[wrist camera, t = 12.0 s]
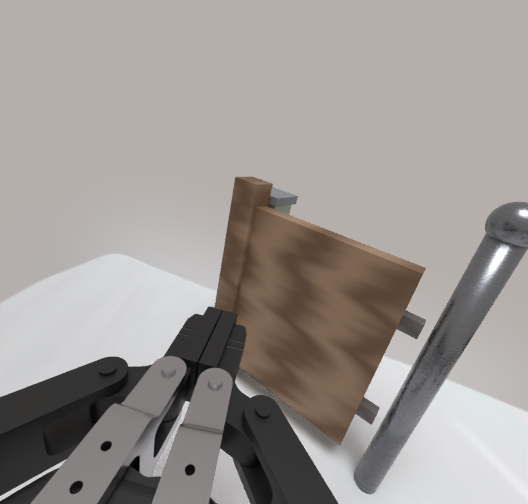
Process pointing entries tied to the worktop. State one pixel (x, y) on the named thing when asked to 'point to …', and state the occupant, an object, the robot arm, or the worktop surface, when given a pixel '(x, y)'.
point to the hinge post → (448, 338)
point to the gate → (311, 308)
